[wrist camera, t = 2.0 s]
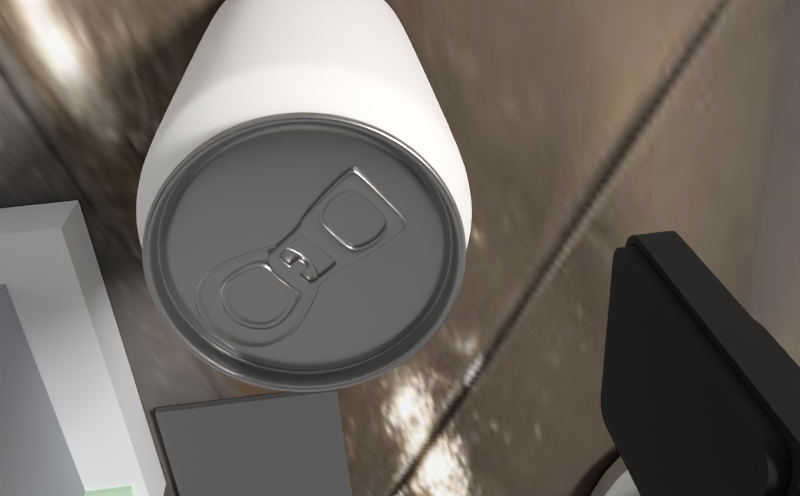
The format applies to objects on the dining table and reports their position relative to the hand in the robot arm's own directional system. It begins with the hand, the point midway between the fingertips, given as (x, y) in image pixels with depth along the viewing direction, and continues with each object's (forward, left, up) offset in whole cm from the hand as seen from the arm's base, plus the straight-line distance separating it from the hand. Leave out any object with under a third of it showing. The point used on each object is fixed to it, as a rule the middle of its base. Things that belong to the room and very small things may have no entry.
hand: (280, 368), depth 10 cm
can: (0, 0, -16) cm, 16 cm away
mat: (+4, +16, -15) cm, 23 cm away
